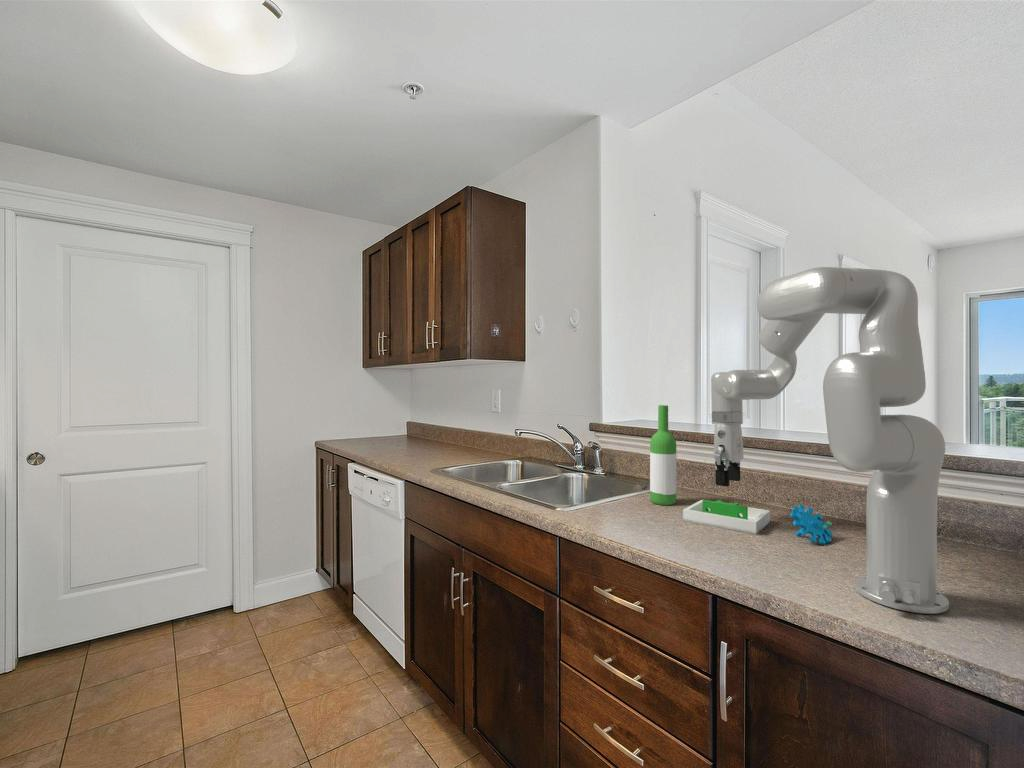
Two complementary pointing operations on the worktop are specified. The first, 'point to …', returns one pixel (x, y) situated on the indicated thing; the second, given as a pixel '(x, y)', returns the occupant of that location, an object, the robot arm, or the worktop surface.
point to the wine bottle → (663, 462)
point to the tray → (728, 519)
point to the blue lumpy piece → (811, 525)
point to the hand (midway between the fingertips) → (728, 483)
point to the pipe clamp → (725, 509)
